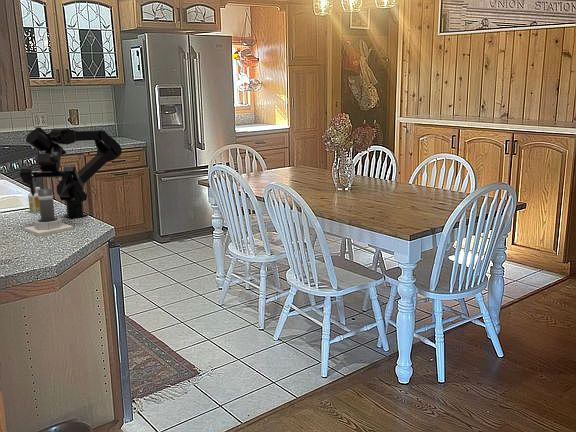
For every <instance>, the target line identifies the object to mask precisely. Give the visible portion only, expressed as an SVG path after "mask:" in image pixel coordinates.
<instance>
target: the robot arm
mask: <svg viewBox="0 0 576 432" xmlns="http://www.w3.org/2000/svg"><path fill="white" fill-rule="evenodd" d="M82 141H94V143H95V144H94V145H95V147H96V148H97V150H96V154H95V156H94V157H92V158H91V159H90V160H89V161H88V162H87V163H86V164H85V165H84V166H83V167H82V168H81V169H79V170H77V167H76V166H75V165H74V166H63V167H62V165H61V160H62V156H63V155H64V156H65V155H66V154H67V152H66V150H65V149H64V148H63V147H62V146H61V145H67V146H68V145H72V144H73V143H76V142H82ZM25 142H26V143H27V144H28V145H30V146H31V147H33V148H34V149H35V150H36V151H38V152H39V153H37V154H36V163H37V164H38V168H39V170H37V171H36V170H35V169H33V167H22V168H20V170H19V173H18V174H19V176H20V178H21V180H22V182H23V184H24V183H25V184H26V185H28V186H29V188H30V189H31V193H32V196H34V194H35V189H36V187H37V178H61V180H58V183H57V185H56V193H57V195H58V197H59V199H60V201H65V205H66V206H65V208H66V214H63V217H65V218H67V219H77V218H81V217H87V216H88V214H87V213H84V209H83V202H84V201H87V198H88V193H86V192H85V191H84V186H85V184H86V183H87V182H88V181H89V180H90V179H91V178H92V177H93V176H94V175H96V173H98V172H99V171H100V170H101V168H103V166H105V165H106V164H107V163H109V162H112V161H114V160H116V159H117V158H120V157H121V155H122V147H121V145H120V144H119V143H118V142H117V141H116V139H114V138H113V137H112V136H110V135H109V134H108V133H107V132H106V131H105V130H103V129H93V130H74V129H70V128H52V129H51V130H50V132H46V131H44V129H43V128H42V127H38V126H37V127H35V129H34V130H32V131H30V132H28V134H27V135H26V137H25ZM40 152H41V153H40ZM42 152H43V153H42ZM61 167H62V168H63V170H60V168H61Z"/></svg>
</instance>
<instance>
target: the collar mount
mask: <svg viewBox="0 0 576 432" xmlns="http://www.w3.org/2000/svg"><path fill="white" fill-rule="evenodd" d="M23 228H24V231H25V232H27V233H30V234H33V235H35V236H37V237H41V236H42V237H43V236H47V235H48V236H49V235H51V234H56V233H61V232H67V231H71V230H74V226H73V225H71V224H67V223H64V222H63V218H62V217H59V216H55V221H52V222H41V218H37V219H35V220H34V221H33V225H30V226H26V227H25V226H24V227H23Z"/></svg>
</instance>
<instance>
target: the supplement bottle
mask: <svg viewBox="0 0 576 432" xmlns="http://www.w3.org/2000/svg"><path fill="white" fill-rule="evenodd" d="M28 189H29V193H28V195H27V197H28V206H29V213H30V214H40V207H39V200H38V190H40V189H41V187H40V186H36V189H35V194H34V196H32V193H31V189H30V187H29V188H28Z"/></svg>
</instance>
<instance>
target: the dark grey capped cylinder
mask: <svg viewBox="0 0 576 432" xmlns="http://www.w3.org/2000/svg"><path fill="white" fill-rule="evenodd" d="M38 200H39V207H40V213H39V215H40V219H41V222H52V221H55V217H56V216H55V206H54V194H53V190H52V188H40V190H38Z"/></svg>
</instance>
